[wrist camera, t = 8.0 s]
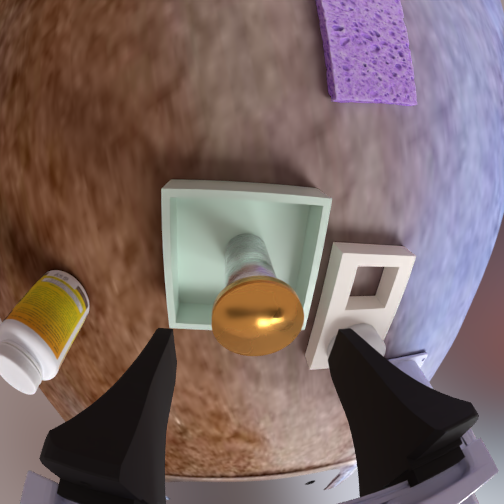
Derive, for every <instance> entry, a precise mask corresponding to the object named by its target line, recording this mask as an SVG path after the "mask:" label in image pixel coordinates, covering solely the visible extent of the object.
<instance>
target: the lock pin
mask: <svg viewBox="0 0 504 504" xmlns="http://www.w3.org/2000/svg"><path fill="white" fill-rule="evenodd" d="M303 323H304V311H303V308H302V305H301V303H300V300H299V298H298V295H297V294H296V292H295V291H294V289H293V288H292V287H291V286H290V285H288V284H287V283H286V282H284V281H282V280H280V279H277V277H276V274H275V271H274V268H273V265H272V262H271V260H270V257H269V254H268V251H267V248H266V245H265V243H264V242H263V240H262V239H261V238H259V237H258V236H256V235H253V234H248V233H244V234H240V235H237V236H235V237H233V238H232V239H231V240H230V241H229V242H228V244H227V245H226V248H225V288H224V289H223V290H222V291H221V292H220V293H219V295H218V296H217V298H216V299H215V301H214V304H213V308H212V323H211V324H212V331H213V334H214V336H215V338H216V339H217V341H218V342H219V343H220V344H221V345H222V346H223V347H225V348H226V349H228V350H230V351H232V352H234V353H237V354H240V355H246V356H262V355H267V354H271V353H274V352H277V351H279V350H281V349H283V348H284V347H286V346H287V345H289V344H290V343H291V342H292V341H293V340H294V339H295V338H296V337H297V336H298V334H299V333H300V331H301V329H302V326H303Z"/></svg>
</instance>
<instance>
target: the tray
mask: <svg viewBox="0 0 504 504" xmlns="http://www.w3.org/2000/svg"><path fill="white" fill-rule="evenodd" d="M331 203H332V198H330V197H329V196H328V195H326V194H325V193H323V192H322V191H321V190H319V189H318V188H312V187H302V186H292V185H280V184H268V183H254V182H237V181H217V180H185V179H171V180H170V181H169V182H168V183H167V184H166V185H165V186H164V187H163V188H162V189H161V208H162V241H163V260H164V275H165V288H166V299H167V309H168V319H169V327H170V328H179V329H199V330H212V324H211V323H212V308H213V304H214V301H215V299H216V298H217V296H218V295H219V293H220V292H221V291H222V290H223V289H224V288H225V248H226V245H227V244H228V242H229V241H230V240H231V239H232V238H233V237H235V236H237V235H240V234H244V233H248V234H253V235H256V236H258V237H259V238H261V239H262V240H263V242H264V243H265V245H266V248H267V251H268V254H269V257H270V260H271V262H272V265H273V268H274V271H275V274H276V277H277V279H280V280H282V281H284V282H286V283H287V284H288V285H290V286H291V287H292V288H293V289H294V291H295V292H296V294H297V295H298V298H299V300H300V303H301V305H302V308H303V311H304V323H303V326H302V329H301V330H305V327H306V323H307V319H308V315H309V310H310V306H311V302H312V298H313V293H314V289H315V285H316V280H317V276H318V271H319V266H320V261H321V257H322V252H323V247H324V241H325V236H326V231H327V225H328V220H329V214H330V209H331Z"/></svg>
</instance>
